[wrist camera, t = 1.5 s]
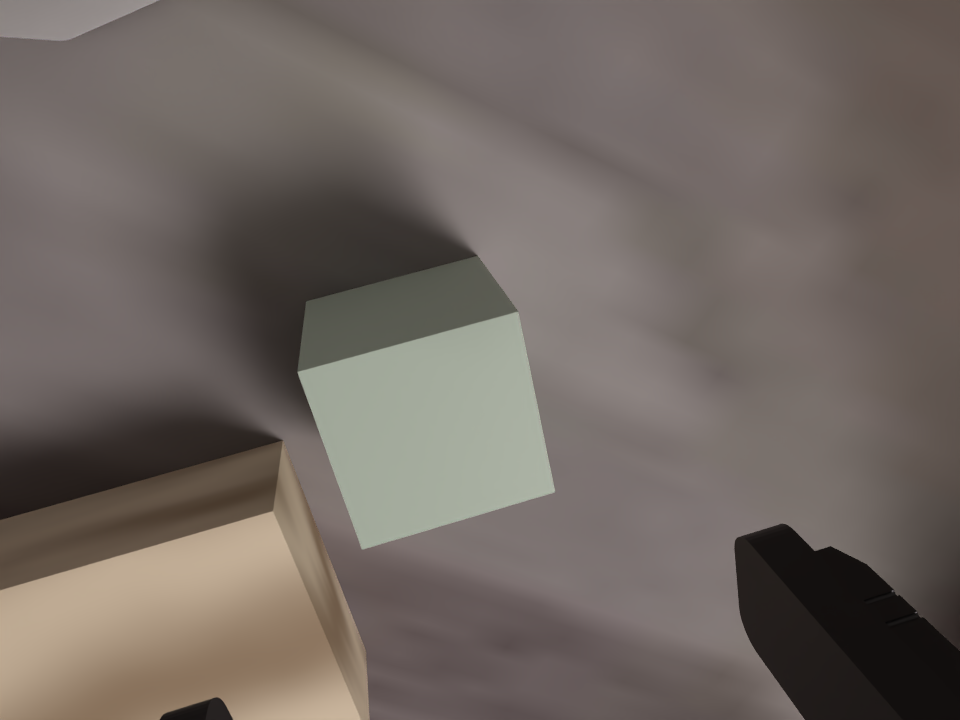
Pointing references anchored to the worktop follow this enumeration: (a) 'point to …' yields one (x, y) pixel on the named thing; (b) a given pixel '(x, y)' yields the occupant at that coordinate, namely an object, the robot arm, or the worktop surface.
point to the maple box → (178, 601)
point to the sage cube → (424, 400)
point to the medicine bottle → (61, 17)
